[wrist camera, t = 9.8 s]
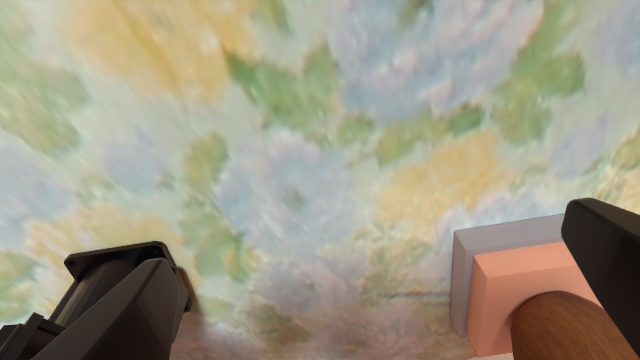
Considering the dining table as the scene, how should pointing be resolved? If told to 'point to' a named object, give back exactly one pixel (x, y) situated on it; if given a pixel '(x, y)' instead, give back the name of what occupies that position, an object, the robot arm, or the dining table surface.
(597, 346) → the wooden figurine
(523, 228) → the brick plinth
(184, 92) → the dining table surface
